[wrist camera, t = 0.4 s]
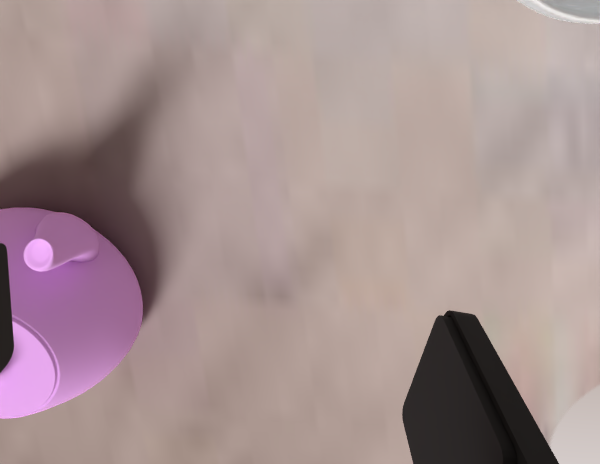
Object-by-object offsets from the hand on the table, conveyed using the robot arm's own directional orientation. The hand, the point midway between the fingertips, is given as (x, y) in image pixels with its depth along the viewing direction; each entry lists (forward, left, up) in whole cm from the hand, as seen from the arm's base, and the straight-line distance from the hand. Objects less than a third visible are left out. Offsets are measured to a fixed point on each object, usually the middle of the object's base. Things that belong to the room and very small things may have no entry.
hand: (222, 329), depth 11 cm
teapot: (+27, +1, -31) cm, 41 cm away
